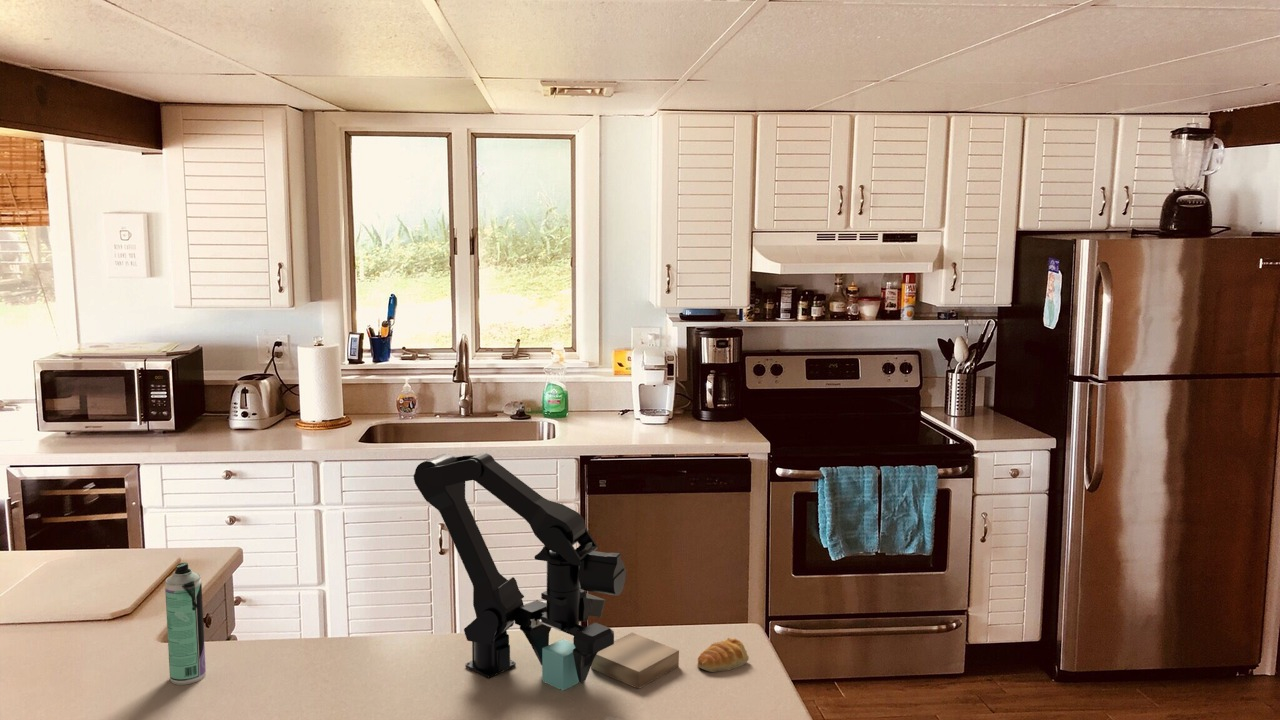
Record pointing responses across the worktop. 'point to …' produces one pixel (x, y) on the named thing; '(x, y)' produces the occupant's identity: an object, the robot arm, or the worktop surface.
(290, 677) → the worktop surface
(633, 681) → the oak base
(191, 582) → the spray can
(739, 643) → the pastry
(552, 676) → the teal block
